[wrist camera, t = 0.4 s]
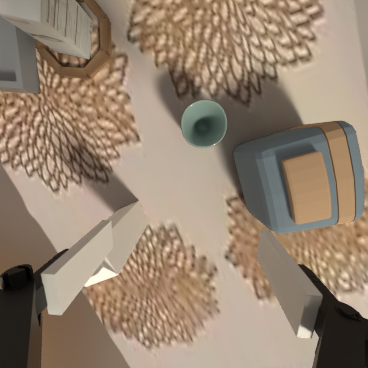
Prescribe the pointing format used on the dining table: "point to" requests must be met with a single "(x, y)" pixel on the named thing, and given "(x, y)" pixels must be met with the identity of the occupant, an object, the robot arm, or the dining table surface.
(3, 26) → the bin
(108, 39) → the ring
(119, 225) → the milk
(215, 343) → the dining table surface
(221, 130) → the cup
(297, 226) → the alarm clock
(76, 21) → the supplement box
